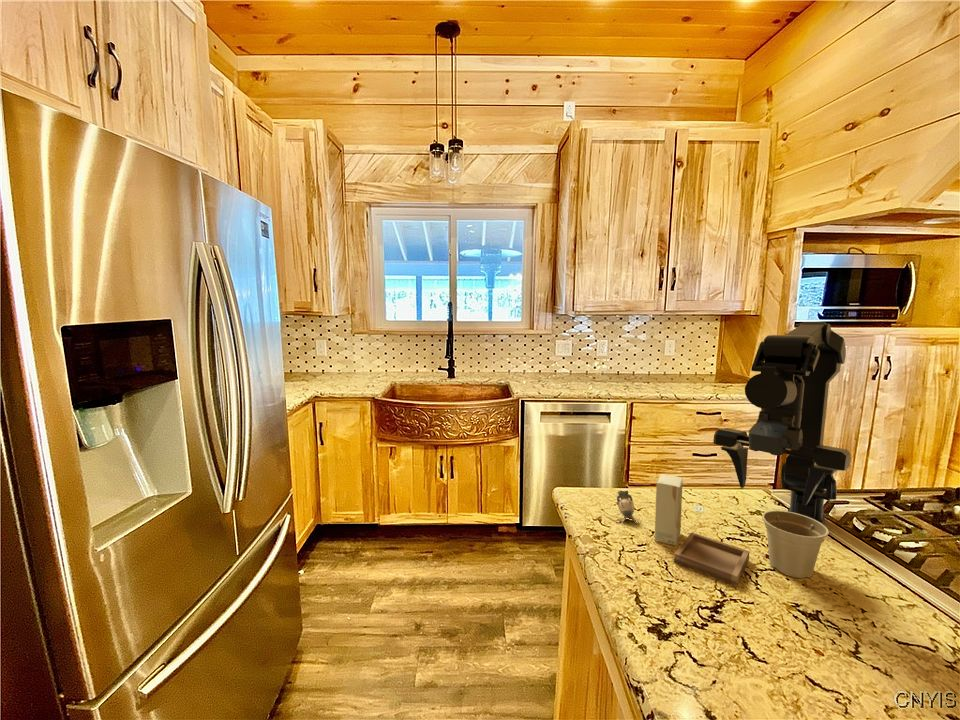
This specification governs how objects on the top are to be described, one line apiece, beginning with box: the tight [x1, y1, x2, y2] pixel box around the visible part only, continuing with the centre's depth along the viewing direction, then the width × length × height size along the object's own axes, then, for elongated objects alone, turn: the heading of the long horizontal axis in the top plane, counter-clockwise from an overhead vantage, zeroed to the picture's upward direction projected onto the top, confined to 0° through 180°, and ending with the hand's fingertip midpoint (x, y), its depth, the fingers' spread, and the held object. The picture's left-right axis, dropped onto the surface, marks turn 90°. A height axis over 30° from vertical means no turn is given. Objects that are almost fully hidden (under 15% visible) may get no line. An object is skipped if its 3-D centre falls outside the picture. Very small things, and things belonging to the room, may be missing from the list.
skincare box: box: [654, 473, 684, 546], centre depth 84 cm, size 6×4×12 cm
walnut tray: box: [673, 532, 750, 588], centre depth 76 cm, size 10×10×2 cm
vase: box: [614, 490, 640, 524], centre depth 92 cm, size 5×5×6 cm
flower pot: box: [761, 509, 830, 579], centre depth 73 cm, size 9×9×9 cm
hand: (772, 495), depth 72 cm, fingers open, 9 cm apart
